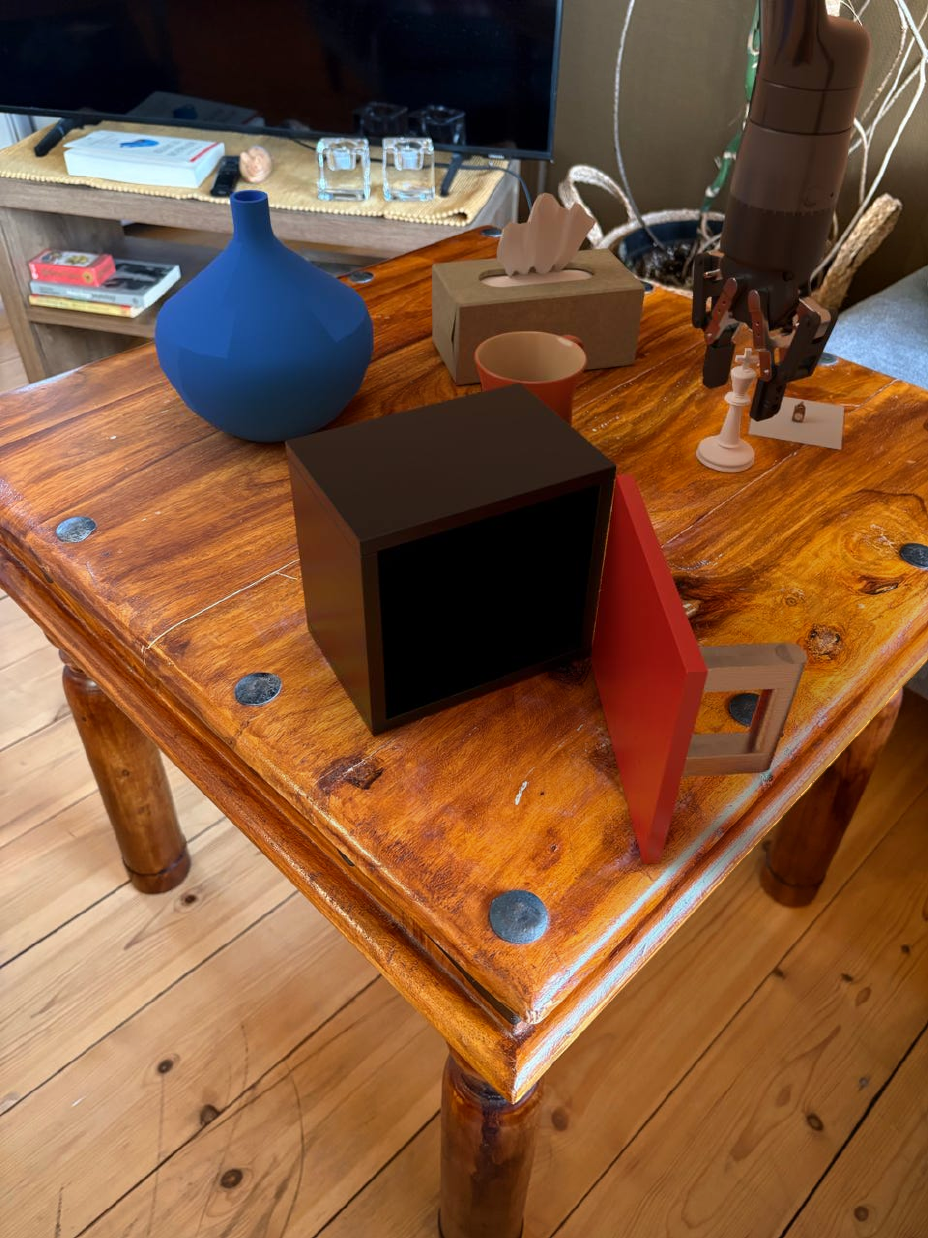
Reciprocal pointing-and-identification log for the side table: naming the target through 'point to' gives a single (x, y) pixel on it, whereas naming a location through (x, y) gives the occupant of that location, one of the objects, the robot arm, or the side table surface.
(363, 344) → the vase
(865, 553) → the side table surface
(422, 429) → the dark brown cabinet
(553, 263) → the tissue box
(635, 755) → the door
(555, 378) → the mug
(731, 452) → the chess piece
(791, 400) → the grey square plate
